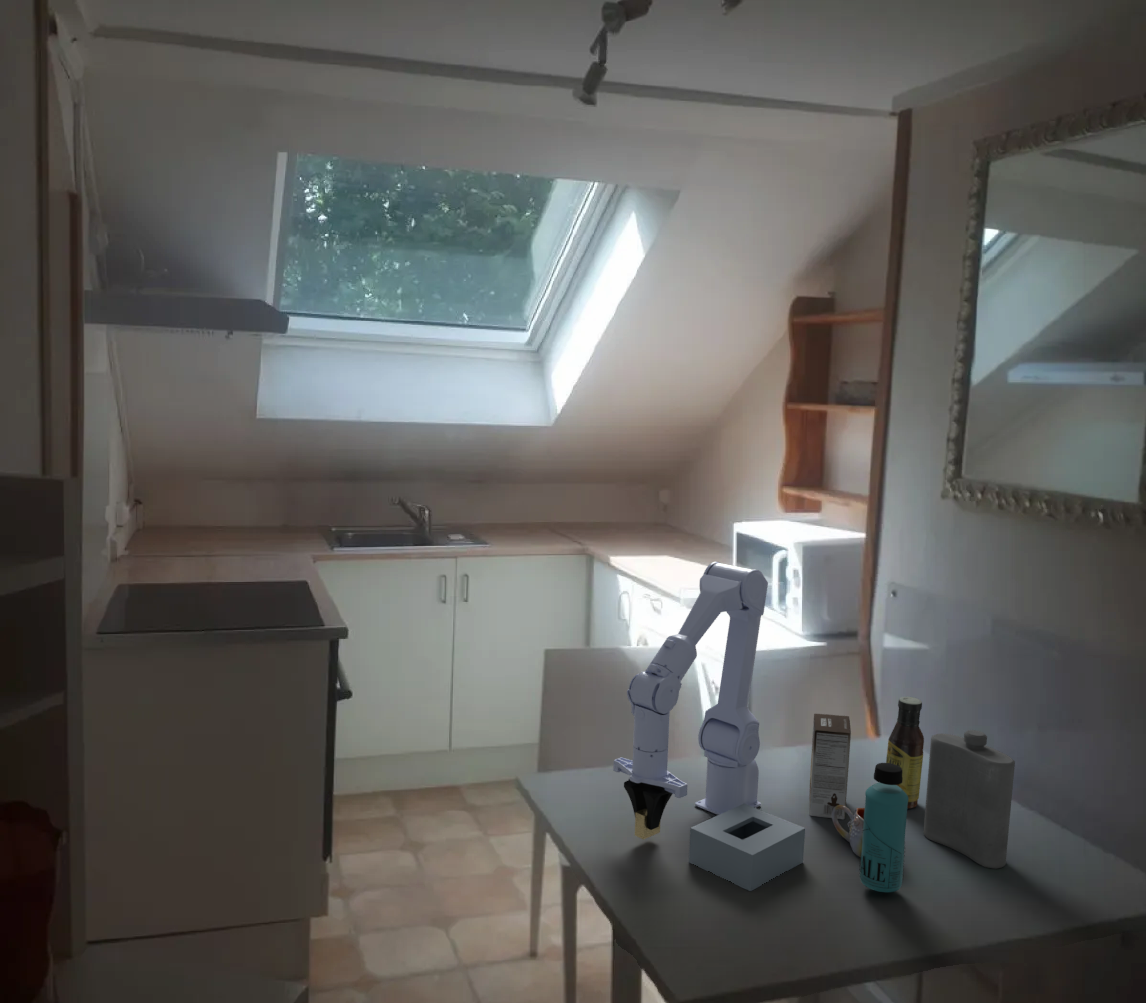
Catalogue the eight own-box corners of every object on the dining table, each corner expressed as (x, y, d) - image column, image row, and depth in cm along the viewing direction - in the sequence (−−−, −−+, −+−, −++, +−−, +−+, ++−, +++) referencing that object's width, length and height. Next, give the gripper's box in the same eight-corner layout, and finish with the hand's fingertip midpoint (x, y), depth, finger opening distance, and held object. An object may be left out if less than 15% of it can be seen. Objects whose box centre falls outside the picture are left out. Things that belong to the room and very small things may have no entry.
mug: (901, 858, 169) (905, 819, 168) (872, 867, 165) (875, 827, 165) (847, 828, 179) (850, 791, 178) (818, 836, 176) (821, 799, 175)
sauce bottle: (877, 796, 193) (885, 693, 190) (910, 796, 193) (918, 693, 190) (891, 811, 186) (899, 704, 183) (924, 811, 187) (933, 705, 184)
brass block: (650, 828, 173) (651, 805, 173) (660, 832, 172) (660, 809, 171) (634, 835, 171) (635, 812, 170) (643, 839, 169) (644, 816, 169)
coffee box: (807, 795, 192) (813, 712, 190) (843, 799, 191) (849, 715, 189) (808, 816, 183) (814, 729, 181) (846, 820, 182) (852, 732, 180)
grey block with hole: (742, 836, 175) (744, 803, 174) (803, 862, 166) (805, 828, 165) (688, 862, 165) (690, 827, 164) (750, 891, 156) (752, 855, 156)
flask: (1015, 863, 168) (1026, 745, 165) (992, 872, 165) (1003, 751, 162) (939, 827, 181) (949, 716, 178) (917, 834, 178) (926, 721, 175)
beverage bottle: (902, 885, 160) (912, 761, 157) (901, 906, 153) (911, 777, 151) (859, 877, 162) (867, 754, 159) (855, 898, 156) (865, 770, 153)
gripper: (601, 739, 172) (599, 817, 173) (668, 765, 161) (664, 848, 163) (630, 729, 176) (628, 805, 178) (697, 754, 166) (693, 834, 168)
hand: (647, 825), depth 171 cm, fingers closed on brass block, 2 cm apart
